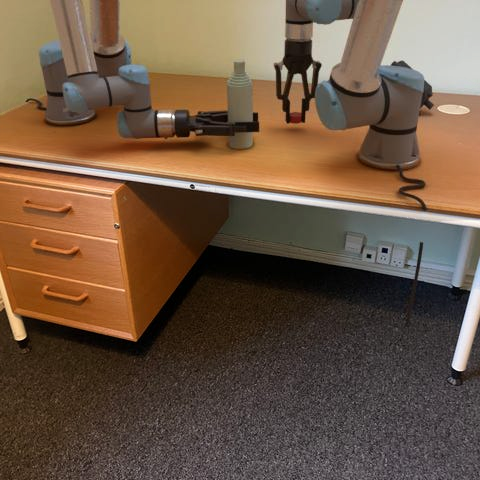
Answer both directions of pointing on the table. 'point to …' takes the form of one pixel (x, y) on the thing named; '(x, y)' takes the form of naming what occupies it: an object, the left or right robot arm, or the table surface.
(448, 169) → the table surface
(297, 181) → the table surface
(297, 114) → the cap
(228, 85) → the bottle
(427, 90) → the tool
